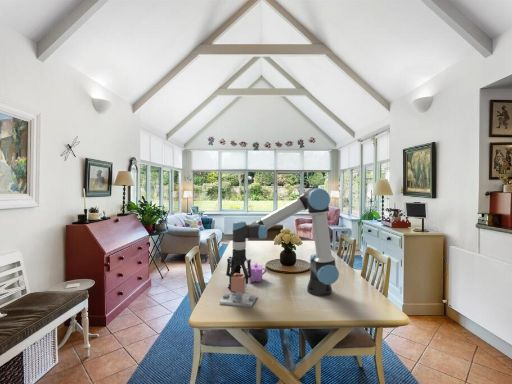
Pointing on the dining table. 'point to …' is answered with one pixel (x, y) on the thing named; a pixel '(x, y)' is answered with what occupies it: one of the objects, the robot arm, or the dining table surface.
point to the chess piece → (237, 270)
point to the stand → (238, 299)
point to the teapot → (256, 273)
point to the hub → (237, 282)
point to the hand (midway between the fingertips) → (238, 288)
